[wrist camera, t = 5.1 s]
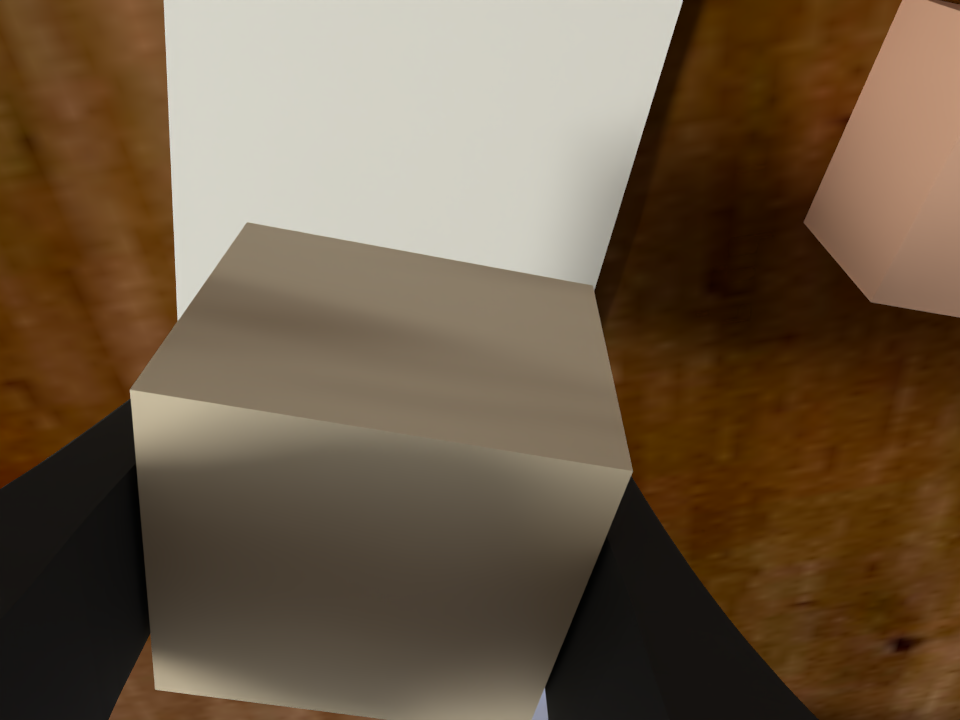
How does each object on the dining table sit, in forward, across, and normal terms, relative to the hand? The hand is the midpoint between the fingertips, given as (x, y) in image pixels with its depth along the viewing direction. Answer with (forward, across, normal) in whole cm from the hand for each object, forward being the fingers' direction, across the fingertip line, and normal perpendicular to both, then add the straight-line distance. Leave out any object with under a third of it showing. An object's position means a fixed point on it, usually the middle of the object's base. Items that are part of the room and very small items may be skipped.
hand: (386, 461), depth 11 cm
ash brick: (+2, 0, 0) cm, 2 cm away
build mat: (+8, +1, 0) cm, 9 cm away
